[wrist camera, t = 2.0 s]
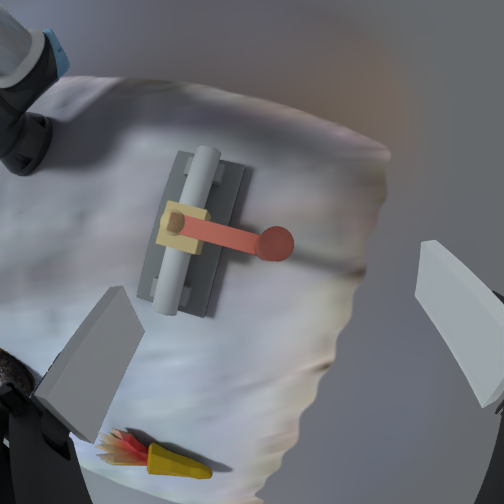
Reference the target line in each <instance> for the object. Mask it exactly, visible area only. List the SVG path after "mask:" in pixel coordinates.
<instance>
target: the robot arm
mask: <svg viewBox="0 0 504 504" xmlns="http://www.w3.org/2000/svg"><path fill="white" fill-rule="evenodd" d="M69 67H70V62H69V60H68V58H67V56H66V54H65V52H64V50H63V49H62V47H61V45H60V43H59V41H58V39H57V37H56V36H55V34H54V32H53V31H52V29H50V28H47V29H45V30H43V31H42V32H41V31H40V30H38V29H29V30H26V29H25V28H24V27H23V26H22V25H21V24H20V23H19V22H18V21H17V20H16V19H15V18H14V17H13V16H12V15H11V14H10V13H9V12H8V11H7V10H6V9H5V8H4V7H3V6H2V5H1V4H0V160H1V162H2V163H3V164H4V165H5V166H6V168H7V169H8V170H9V171H10V172H11V173H13V174H16V175H18V176H23V175H26V174H28V173H30V172H31V171H32V170H34V169H35V168H36V167H37V165H38V164H39V163H40V162H41V160H42V159H43V157H44V155H45V153H46V151H47V149H48V147H49V144H50V141H51V136H52V125H51V122H50V121H49V119H47V118H46V117H45V116H43V115H41V114H37V113H31V112H26V110H27V109H28V108H29V107H30V106H31V105H32V104H33V103H34V102H35V101H36V100H37V99H38V98H39V97H40V96H41V95H43V94H44V93H45V92H46V91H47V90H48V89H49V88H50V87H51V86H52V85H53V84H55V83H56V82H57V81H58V80H59V79H60V78H61V77H62V76H63V75H64V74H65V73H66V72H67V71H68V69H69ZM415 297H416V298H417V300H418V301H419V303H420V304H421V305H422V307H423V308H424V310H425V311H426V313H427V314H428V316H429V317H430V319H431V320H432V322H433V323H434V325H435V326H436V328H437V329H438V331H439V332H440V334H441V335H442V337H443V339H444V340H445V342H446V343H447V345H448V346H449V348H450V350H451V352H452V353H453V355H454V357H455V358H456V360H457V362H458V363H459V365H460V367H461V369H462V370H463V372H464V374H465V376H466V378H467V380H468V381H469V383H470V385H471V387H472V389H473V391H474V393H475V395H476V397H477V399H478V401H479V403H480V405H481V407H482V408H483V407H485V406H487V405H489V404H490V403H492V402H494V401H495V400H497V399H498V398H499V396H500V395H501V394H502V392H503V391H504V297H503V296H501V295H500V294H498V293H496V292H495V291H490V290H489V288H488V287H487V286H486V285H485V284H483V282H482V281H481V280H480V279H478V277H477V276H475V275H474V274H473V273H472V272H471V271H470V270H469V269H468V268H467V267H466V266H465V265H464V264H463V263H462V262H460V261H459V260H458V259H457V258H456V257H455V256H453V254H451V253H450V252H449V251H448V250H447V249H446V248H445V247H443V246H442V245H441V244H440V243H439V242H437V241H436V240H431V241H425V242H422V243H421V254H420V263H419V271H418V279H417V285H416V292H415ZM144 333H145V331H144V329H143V327H142V325H141V323H140V321H139V319H138V317H137V315H136V313H135V311H134V309H133V307H132V304H131V302H130V300H129V298H128V296H127V294H126V291H125V289H124V287H123V286H115V287H110V288H109V289H108V291H107V292H106V293H105V294H104V295H103V297H102V298H101V299H100V300H99V302H98V303H97V304H96V306H95V307H94V308H93V309H92V311H91V312H90V313H89V315H88V316H87V317H86V319H85V320H84V321H83V323H82V324H81V325H80V327H79V328H78V329H77V331H76V332H75V333H74V335H73V336H72V337H71V339H70V340H69V342H68V343H67V344H66V346H65V347H64V349H63V350H62V352H60V353H59V354H58V356H57V357H56V359H55V360H54V362H53V365H51V366H50V368H49V369H48V372H46V374H45V375H44V377H43V378H42V380H41V382H40V383H39V385H38V386H37V388H36V390H35V391H34V393H33V394H32V396H31V397H30V398H29V397H28V396H27V395H26V394H25V393H24V391H23V390H22V389H21V388H20V387H19V386H18V384H17V383H16V382H15V381H13V380H9V381H7V382H5V383H4V384H2V385H1V387H0V504H93V503H92V501H91V498H90V495H89V493H88V490H87V487H86V484H85V481H84V478H83V475H82V472H81V469H80V465H79V462H78V458H77V455H76V451H75V447H74V443H73V441H72V438H70V437H69V433H70V431H71V432H72V433H73V434H74V435H75V436H76V437H78V438H79V439H80V440H83V441H86V442H89V443H92V444H94V442H95V440H96V437H97V435H98V432H99V430H100V428H101V425H102V423H103V420H104V418H105V416H106V413H107V411H108V409H109V407H110V404H111V402H112V400H113V398H114V395H115V393H116V391H117V389H118V386H119V384H120V382H121V380H122V378H123V376H124V374H125V371H126V369H127V367H128V365H129V363H130V361H131V359H132V357H133V355H134V353H135V351H136V349H137V347H138V345H139V343H140V341H141V339H142V337H143V335H144ZM503 406H504V400H503V401H502V402H501V404H500V405H499V406H498V408H497V409H496V412H495V414H497V413H498V412H499V411H500V410H501V409H502V407H503ZM501 415H502V418H501V423H500V428H499V432H498V436H497V440H496V444H495V447H494V451H493V454H492V458H491V461H490V464H489V467H488V470H487V473H486V476H485V479H484V481H483V484H482V486H481V489H480V491H479V494H478V496H477V498H476V501H475V503H474V504H504V407H503V411H502V412H501ZM4 438H5V439H7V440H8V441H9V448H8V447H7V446H6V445H5V444H4V443H3V441H4Z"/></svg>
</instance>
